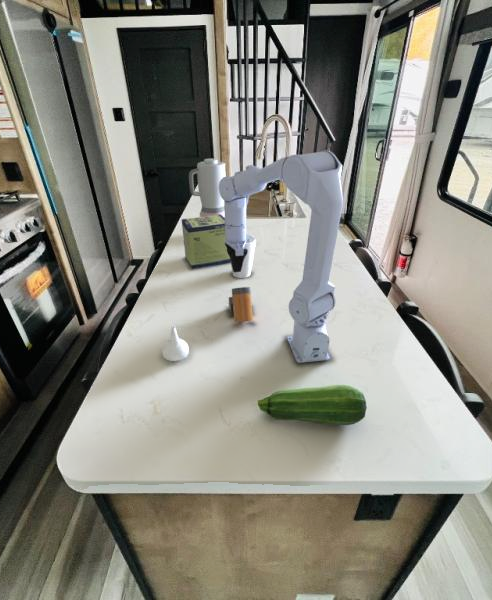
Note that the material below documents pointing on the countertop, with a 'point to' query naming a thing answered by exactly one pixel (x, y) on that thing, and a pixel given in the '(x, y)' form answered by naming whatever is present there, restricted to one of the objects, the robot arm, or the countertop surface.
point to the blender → (209, 186)
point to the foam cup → (247, 258)
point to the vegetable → (317, 405)
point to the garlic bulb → (175, 347)
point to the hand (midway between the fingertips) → (236, 268)
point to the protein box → (205, 241)
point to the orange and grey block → (242, 304)
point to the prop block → (231, 306)
